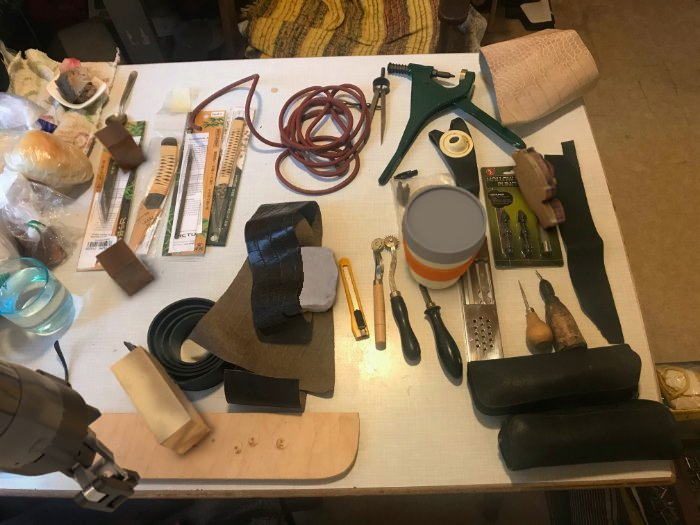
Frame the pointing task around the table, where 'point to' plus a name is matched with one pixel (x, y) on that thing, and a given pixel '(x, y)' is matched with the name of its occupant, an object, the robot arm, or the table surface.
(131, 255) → the pillar near
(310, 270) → the stone block
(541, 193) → the wooden carving
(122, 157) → the pillar far
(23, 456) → the robot arm
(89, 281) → the table surface
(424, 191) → the reusable coffee cup
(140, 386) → the birch block
